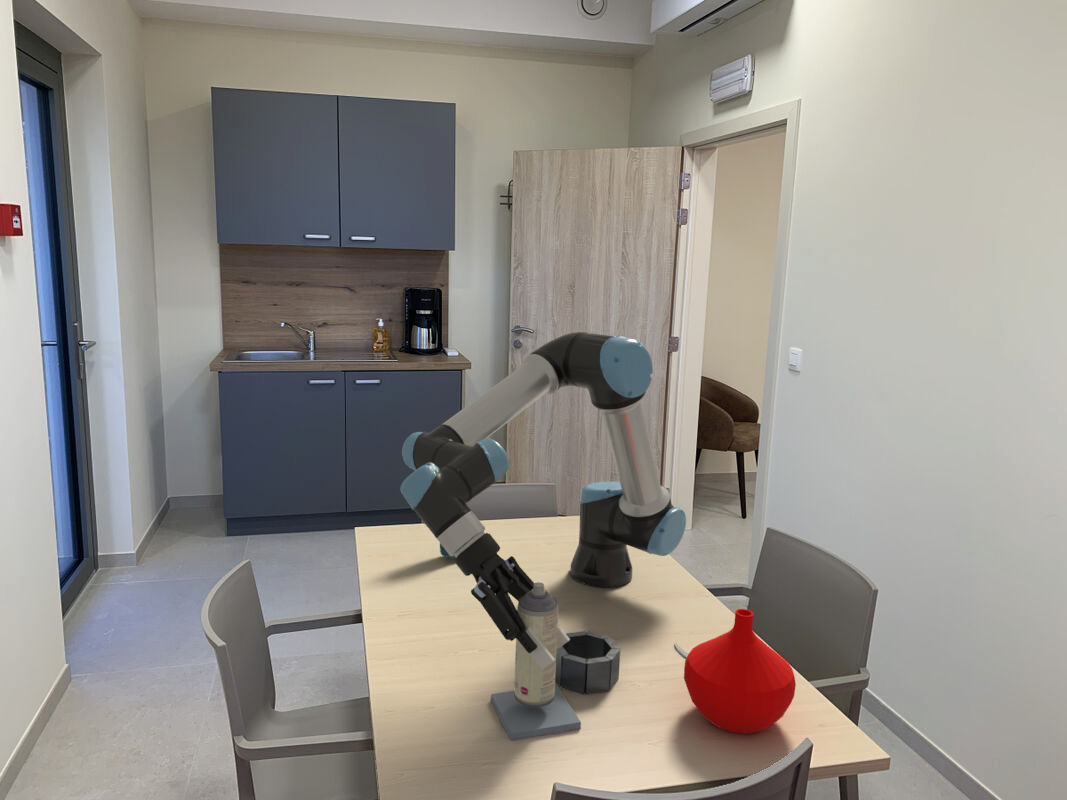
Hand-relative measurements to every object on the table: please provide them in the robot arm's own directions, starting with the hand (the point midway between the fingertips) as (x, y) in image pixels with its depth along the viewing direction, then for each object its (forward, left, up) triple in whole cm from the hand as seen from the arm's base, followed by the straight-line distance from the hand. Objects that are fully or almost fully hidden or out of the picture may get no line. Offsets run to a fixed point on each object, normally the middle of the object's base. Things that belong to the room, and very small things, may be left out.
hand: (556, 653), depth 131 cm
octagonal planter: (-10, -11, -12) cm, 19 cm away
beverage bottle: (+1, -73, -12) cm, 74 cm away
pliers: (-36, -10, -12) cm, 40 cm away
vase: (-30, +8, -12) cm, 34 cm away
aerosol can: (+3, -2, -9) cm, 9 cm away
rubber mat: (+3, -2, -12) cm, 12 cm away
